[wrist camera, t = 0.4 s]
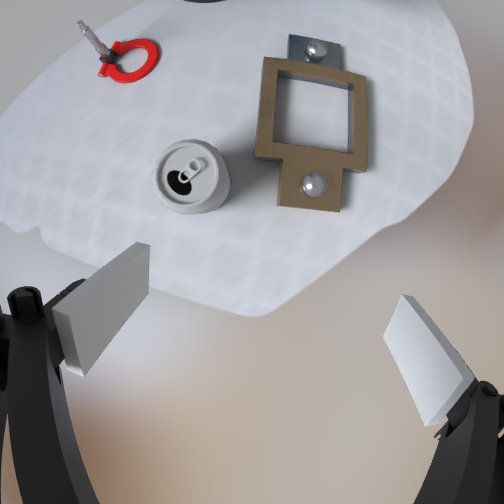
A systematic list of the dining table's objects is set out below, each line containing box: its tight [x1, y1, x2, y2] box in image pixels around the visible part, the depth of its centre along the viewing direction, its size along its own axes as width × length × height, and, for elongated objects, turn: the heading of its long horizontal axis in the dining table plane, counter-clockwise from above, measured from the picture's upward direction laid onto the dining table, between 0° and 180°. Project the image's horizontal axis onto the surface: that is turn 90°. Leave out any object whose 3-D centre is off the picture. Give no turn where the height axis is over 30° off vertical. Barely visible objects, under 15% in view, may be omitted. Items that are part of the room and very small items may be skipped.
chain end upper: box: [255, 57, 367, 212], centre depth 33 cm, size 21×15×4 cm
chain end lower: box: [254, 34, 363, 173], centre depth 33 cm, size 21×15×3 cm
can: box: [152, 139, 230, 215], centre depth 30 cm, size 8×8×12 cm
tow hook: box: [77, 20, 158, 83], centre depth 26 cm, size 8×13×9 cm
